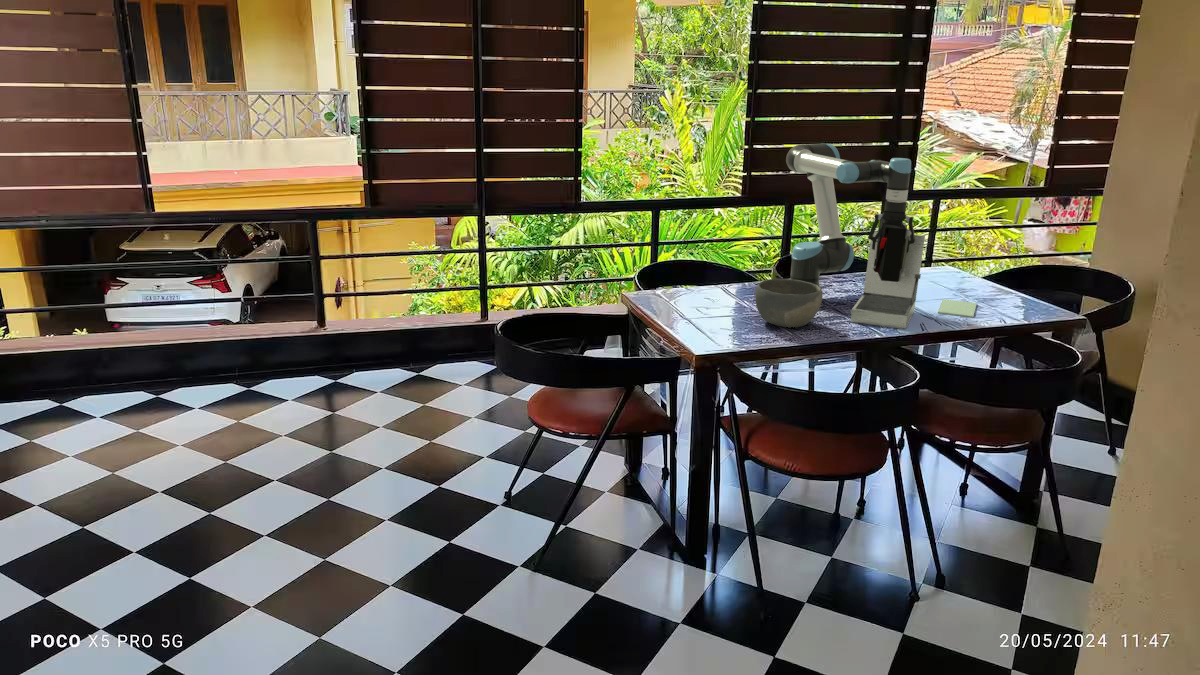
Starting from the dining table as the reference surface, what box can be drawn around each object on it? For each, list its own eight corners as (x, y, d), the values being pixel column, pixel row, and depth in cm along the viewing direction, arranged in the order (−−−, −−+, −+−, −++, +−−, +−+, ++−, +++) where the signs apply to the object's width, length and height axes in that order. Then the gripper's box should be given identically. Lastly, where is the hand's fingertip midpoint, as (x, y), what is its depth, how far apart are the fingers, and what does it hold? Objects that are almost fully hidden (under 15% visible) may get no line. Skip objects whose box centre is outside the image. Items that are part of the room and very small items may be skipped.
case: (850, 321, 321) (858, 244, 311) (864, 302, 347) (872, 230, 338) (906, 329, 312) (916, 250, 303) (917, 308, 338) (926, 235, 329)
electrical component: (904, 282, 313) (912, 229, 307) (875, 280, 315) (883, 227, 309) (898, 271, 329) (906, 220, 323) (871, 269, 331) (878, 218, 325)
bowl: (821, 336, 304) (825, 296, 299) (753, 332, 308) (755, 292, 303) (817, 317, 327) (820, 279, 322) (753, 313, 331) (756, 276, 326)
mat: (937, 313, 333) (937, 311, 332) (942, 300, 350) (942, 299, 350) (973, 317, 327) (973, 316, 327) (976, 304, 345) (976, 303, 345)
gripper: (863, 199, 315) (857, 258, 322) (926, 204, 305) (918, 264, 313) (867, 196, 321) (861, 254, 328) (928, 201, 312) (920, 260, 319)
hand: (888, 259), depth 320 cm, fingers open, 9 cm apart
